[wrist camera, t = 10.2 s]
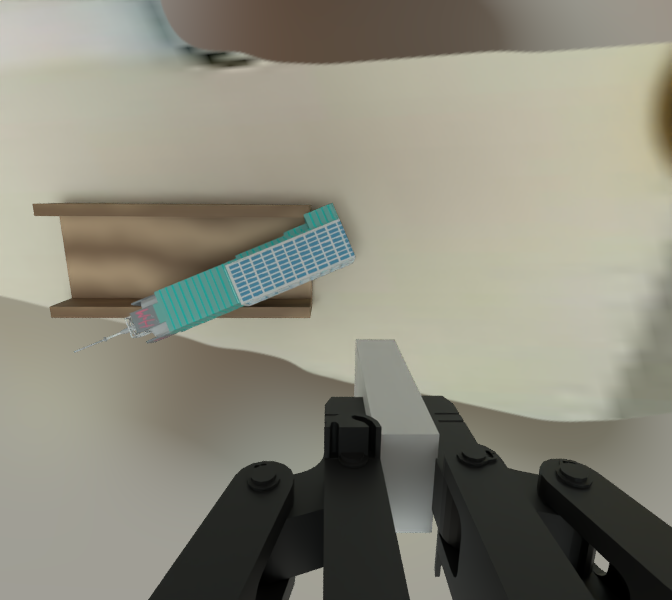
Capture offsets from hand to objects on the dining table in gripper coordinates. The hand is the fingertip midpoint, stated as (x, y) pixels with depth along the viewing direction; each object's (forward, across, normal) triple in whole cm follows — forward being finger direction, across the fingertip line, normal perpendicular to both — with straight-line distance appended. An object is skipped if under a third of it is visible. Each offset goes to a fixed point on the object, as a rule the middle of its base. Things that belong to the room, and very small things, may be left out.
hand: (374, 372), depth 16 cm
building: (+30, 0, +3) cm, 30 cm away
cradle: (+34, -18, 0) cm, 38 cm away
